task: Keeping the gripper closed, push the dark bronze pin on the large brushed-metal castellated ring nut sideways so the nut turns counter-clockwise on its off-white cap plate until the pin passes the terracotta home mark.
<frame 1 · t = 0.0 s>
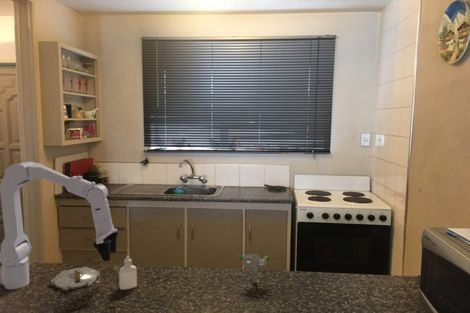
hand: (110, 256, 122), 11 cm above the counter, tool pointing down, fingers open, 7 cm apart
cap plate: (76, 282, 124), on the counter
eye dropper bottle: (128, 290, 119), on the counter
mechanical component: (254, 282, 126), on the counter
ring nut: (75, 272, 123), point 4 cm above the counter, hinge at 0.0°
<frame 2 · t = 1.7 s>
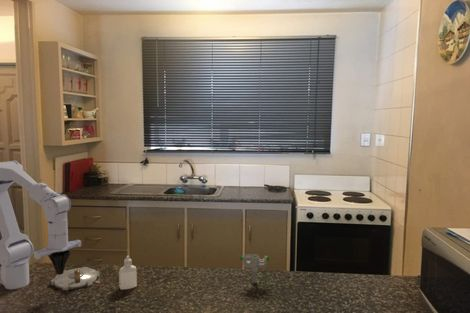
hand: (59, 273, 113), 8 cm above the counter, tool pointing down, fingers closed
nothing on the counter moved.
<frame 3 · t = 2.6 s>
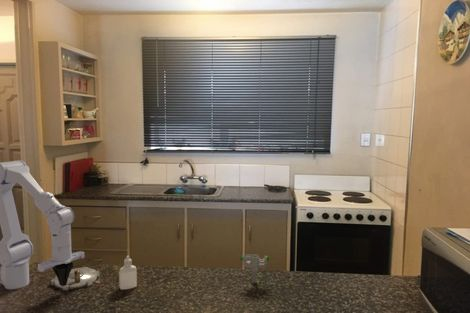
hand: (63, 284, 114), 4 cm above the counter, tool pointing down, fingers closed
nothing on the counter moved.
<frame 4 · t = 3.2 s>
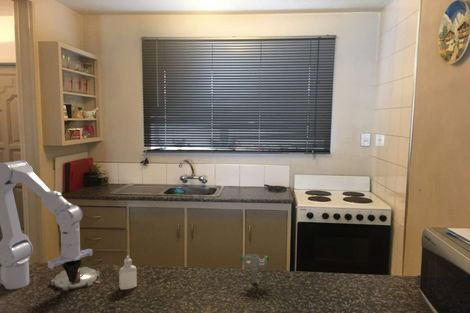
hand: (71, 281, 117), 4 cm above the counter, tool pointing down, fingers closed, pressing on ring nut
ring nut: (75, 272, 123), point 4 cm above the counter, hinge at 0.0°, touching gripper
everything else where it was.
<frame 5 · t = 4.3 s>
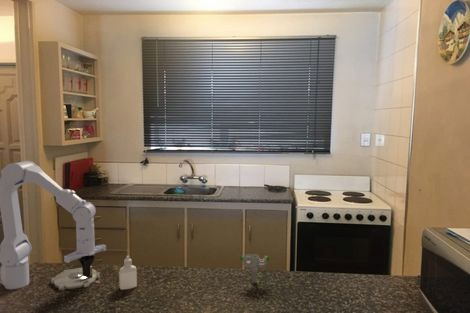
hand: (86, 275, 121), 4 cm above the counter, tool pointing down, fingers closed, pressing on ring nut
ring nut: (75, 272, 123), point 4 cm above the counter, hinge at 50.3°, touching gripper
everything else where it was.
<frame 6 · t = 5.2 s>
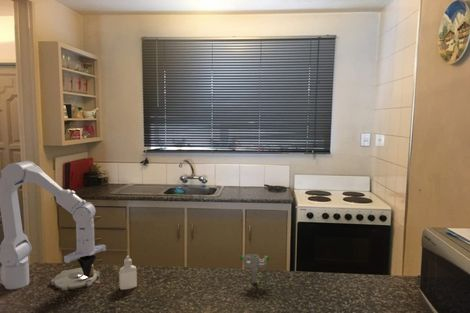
hand: (86, 275, 121), 4 cm above the counter, tool pointing down, fingers closed
ring nut: (75, 272, 123), point 4 cm above the counter, hinge at 58.2°, touching gripper
everything else where it was.
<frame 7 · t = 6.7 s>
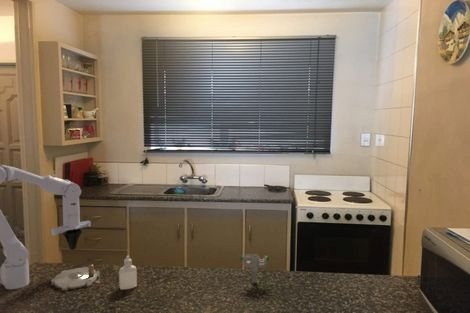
hand: (72, 248, 131), 9 cm above the counter, tool pointing down, fingers closed
ring nut: (75, 272, 123), point 4 cm above the counter, hinge at 58.3°
everything else where it was.
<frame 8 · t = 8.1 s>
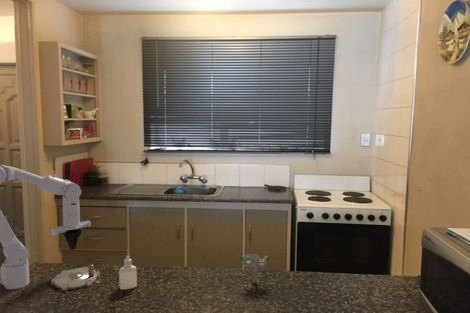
hand: (72, 248, 131), 9 cm above the counter, tool pointing down, fingers closed
nothing on the counter moved.
at the end: ring nut at +58° (first picture: +0°) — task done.
